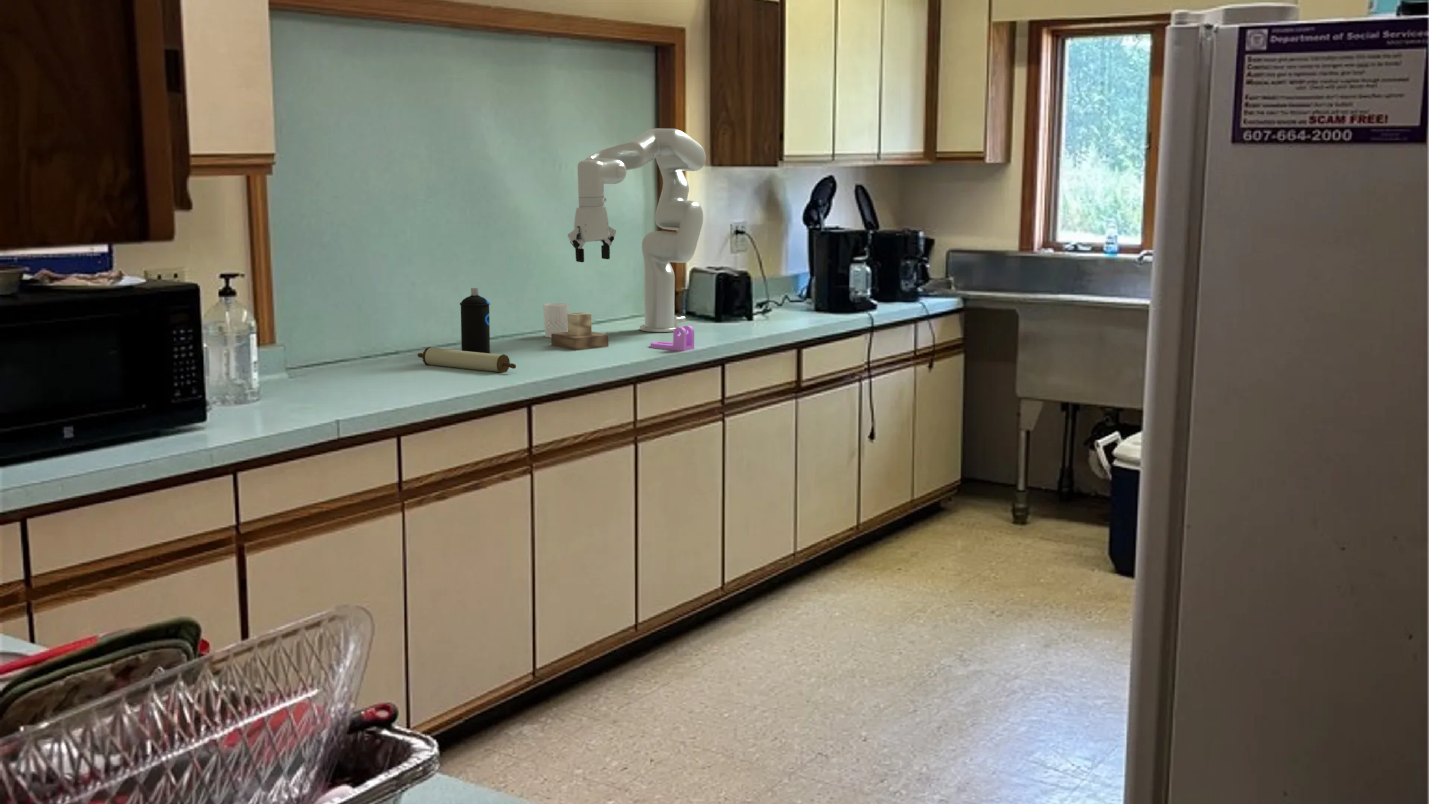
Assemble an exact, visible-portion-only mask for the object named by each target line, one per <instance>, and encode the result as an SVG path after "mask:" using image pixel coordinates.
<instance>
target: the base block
mask: <svg viewBox="0 0 1429 804" xmlns="http://www.w3.org/2000/svg"><path fill="white" fill-rule="evenodd" d="M550 339H551V341H550V342H551V343H550V344H551V346H552V347H557V348H563V349H566V350H573V351H583V350H590V349H591V350H592V349H599V348H600V349H601V348H608V347H609V341H610V340H609V339H610V338H609V334H606V333H600V332H595V331H592V334H590V335H581V336H576V335H571V334H568V331H567V332H562V333H552V334H551V338H550Z"/></svg>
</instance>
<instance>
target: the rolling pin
mask: <svg viewBox="0 0 1429 804" xmlns="http://www.w3.org/2000/svg"><path fill="white" fill-rule="evenodd" d="M417 357H418V358H420V359H422V363H424V365H426V366H440V367H445V368H447V367H449V368H456V369H465V370H476V371H485V372H494V373H500V374H502V373H503V374H504V373H507V372H508V371H509V369H516V368H517V365H516V364H515V363H512V362H511V361H510V357H509V356H508V354H500V353H499V354H498V353H491V352H490V353H479V352H469V351H462V350H458V349H457V350H456V349H449V348H439V347H438V348H437V347H431V346H428V347H425V349H424V350H423V352H418V353H417Z"/></svg>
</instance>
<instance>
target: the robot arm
mask: <svg viewBox="0 0 1429 804" xmlns="http://www.w3.org/2000/svg"><path fill="white" fill-rule="evenodd" d="M706 159H707V155H706V152H705V149H704V148H703V146H702V145H701V144H700V143H699V142H698V141H696V140H695V139H694V138H692V137H691V136H689V134H686V132H683V131H682V130H679V129H677V128H660V127H658V128H650V129H648V130H646V131H644V132H643V133H641V134H639V135H637V137H635V138H633V139H631V140H629V141H627V142H624V143H619V144H617V145H614V146H611V147H607V148H603V149H601V150H599V151H596V152H594V153H593V154H591V155H589V156H587V157H586V158H585V159H584V160H580V161H579V162H578V163H577V191H578V192H577V193H578V198H577V199H578V207H576V209H575V214H574V224H573V230H572V231H570V232H569V233H567V238H568V239H569V241H570V243H569V244H571V245H572V246H573V248H574V249H575V250H574V251H575V261H576V262H578V263H584V262H585V249H584V248H583V247H584V245H585V244H586V243H589V242H598V241H600V242H601V244H602V245H601V246H600V247H601V248H600V249H601V250H600V251H601V259H602V260H610V259H611V249H610V248H611V247H610V246H612V245H613V244H612V243H613V241H614V239H615V236H616V233H617V231H616V229H614V228H613V227H612V226H611V227H610V225H609V217H608V212H607V208H606V206H605V203H606V202H607V198H606V197H605V192H604V191H605V190H604V188H605V185H616V184H619V183H621V182H623V181H624V180H625V178H626V175H627V171H630V170H637V169H639V168H642V167H643V166H645V165H646V164H648V163H649V162H651V161H653V160H656V163H657V166H658V168H659V171H660V175H661V177H662V189H661V193H660V196H659V200H658V203H657V208H656V211H655V213H654V214H655V216H654V221H655V224H656V226H657V227H659V228H661V229H664V230H667V231H664V230H655V231H650V232H648V233H646V234H645V235H644V236H643V238H642V241H641V252H642V256H643V263H644V264H643V265H644V324H641V325H639V330H641V331H644V332H650V333H671V332H674V329H675V328H677V327H680V326H679V325H678V324H679V323H681V324H682V323H685V322H686V317H685V316H677V315H675V294H676V293H675V291H676V290H675V286H676V285H675V283H676V282H675V280H676V277H675V272H674V269H673V266H672V264H671V263H676V264H677V263H679V264H680V263H682V264H685V263H687V262H689V261H691V260H692V258H693V257H694V254H695V252H696V248H697V245H698V241H699V238H700V235H701V231H702V227H703V223H704V211H703V207H702V206H701V204H699V203H698V202H697V201H695V200H694V201H693V200H688V195H689V192H690V186H689V182H688V180H687V178H686V176H685V174H684V172H695V171H696V172H697V171H700V170H701V169H702V168H703V167H704V166H705V164H706ZM683 171H684V172H683ZM668 230H672V231H668ZM675 231H678V232H675Z"/></svg>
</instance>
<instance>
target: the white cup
mask: <svg viewBox="0 0 1429 804" xmlns="http://www.w3.org/2000/svg"><path fill="white" fill-rule="evenodd" d="M542 308H543V320H544V321H543V324H544V330H545V332H544V333H545V337H546V338H550V339H551V334H552V333H562V332H568V317H567V314H570V312H569V311H570V304H569V303H566V302H565V303H564V302H548V303H543V304H542Z"/></svg>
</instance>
